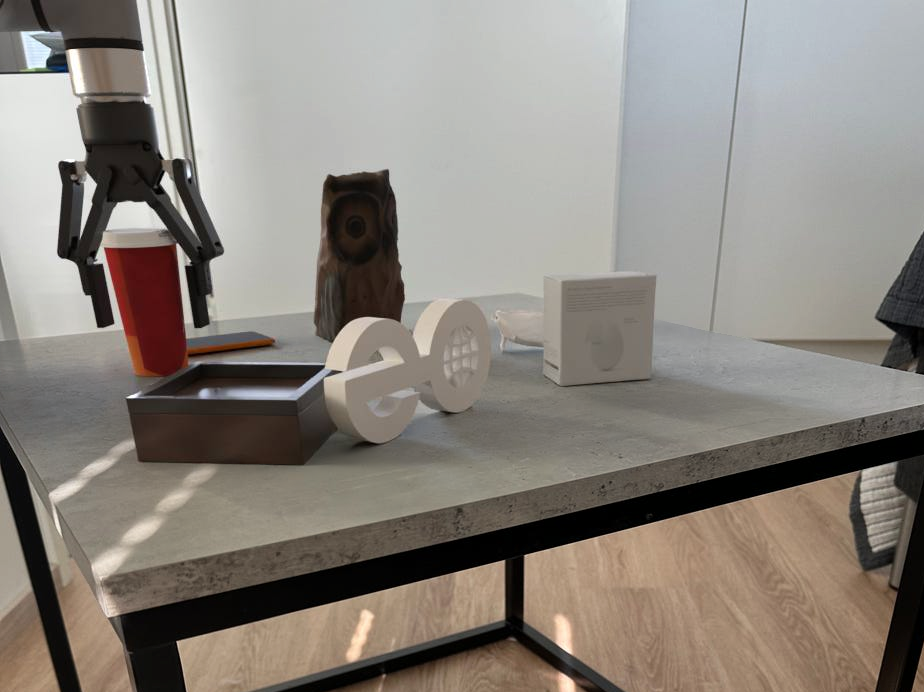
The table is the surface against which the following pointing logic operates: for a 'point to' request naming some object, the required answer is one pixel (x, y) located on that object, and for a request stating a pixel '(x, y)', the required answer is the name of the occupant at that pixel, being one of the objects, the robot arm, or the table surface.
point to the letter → (407, 368)
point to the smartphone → (227, 342)
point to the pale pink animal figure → (520, 327)
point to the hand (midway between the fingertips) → (153, 326)
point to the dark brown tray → (233, 414)
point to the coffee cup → (148, 297)
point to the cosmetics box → (598, 327)
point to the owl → (357, 253)
